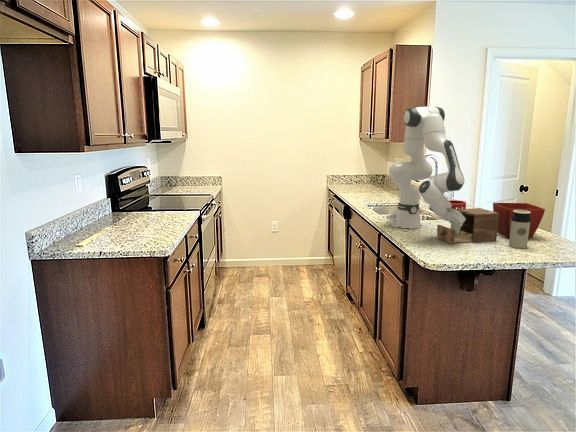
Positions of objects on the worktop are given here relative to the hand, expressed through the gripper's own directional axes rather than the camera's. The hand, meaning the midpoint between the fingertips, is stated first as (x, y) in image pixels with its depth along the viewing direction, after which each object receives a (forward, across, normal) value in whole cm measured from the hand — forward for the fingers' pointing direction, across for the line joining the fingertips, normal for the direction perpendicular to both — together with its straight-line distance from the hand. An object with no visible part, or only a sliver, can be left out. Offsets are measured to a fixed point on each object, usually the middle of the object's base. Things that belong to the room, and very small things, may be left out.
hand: (456, 224), depth 209 cm
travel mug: (+22, -18, -9) cm, 30 cm away
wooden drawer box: (+15, 0, -2) cm, 15 cm away
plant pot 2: (+33, 0, -20) cm, 39 cm away
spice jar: (+5, 0, +6) cm, 7 cm away
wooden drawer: (+5, 0, +7) cm, 8 cm away
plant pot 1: (+29, +44, -16) cm, 55 cm away
